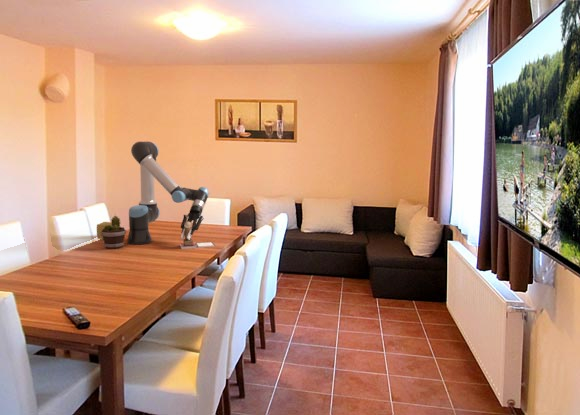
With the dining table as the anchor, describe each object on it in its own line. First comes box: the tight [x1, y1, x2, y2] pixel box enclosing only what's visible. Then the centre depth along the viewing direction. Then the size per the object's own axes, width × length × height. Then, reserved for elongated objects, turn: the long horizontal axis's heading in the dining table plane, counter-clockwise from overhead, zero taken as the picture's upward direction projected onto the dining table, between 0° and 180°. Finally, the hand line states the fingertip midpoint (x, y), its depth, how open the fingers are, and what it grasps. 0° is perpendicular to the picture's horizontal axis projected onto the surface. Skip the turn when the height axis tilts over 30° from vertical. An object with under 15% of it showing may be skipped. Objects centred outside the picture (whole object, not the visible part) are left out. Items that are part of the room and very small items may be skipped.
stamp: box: [182, 221, 194, 246], centre depth 276 cm, size 7×5×15 cm
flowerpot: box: [100, 214, 127, 250], centre depth 272 cm, size 14×15×20 cm
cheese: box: [96, 221, 113, 240], centre depth 299 cm, size 10×11×10 cm
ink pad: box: [179, 242, 197, 250], centre depth 278 cm, size 9×9×2 cm
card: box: [194, 241, 216, 248], centre depth 283 cm, size 11×11×1 cm
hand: (185, 238), depth 273 cm, fingers closed on stamp, 4 cm apart
